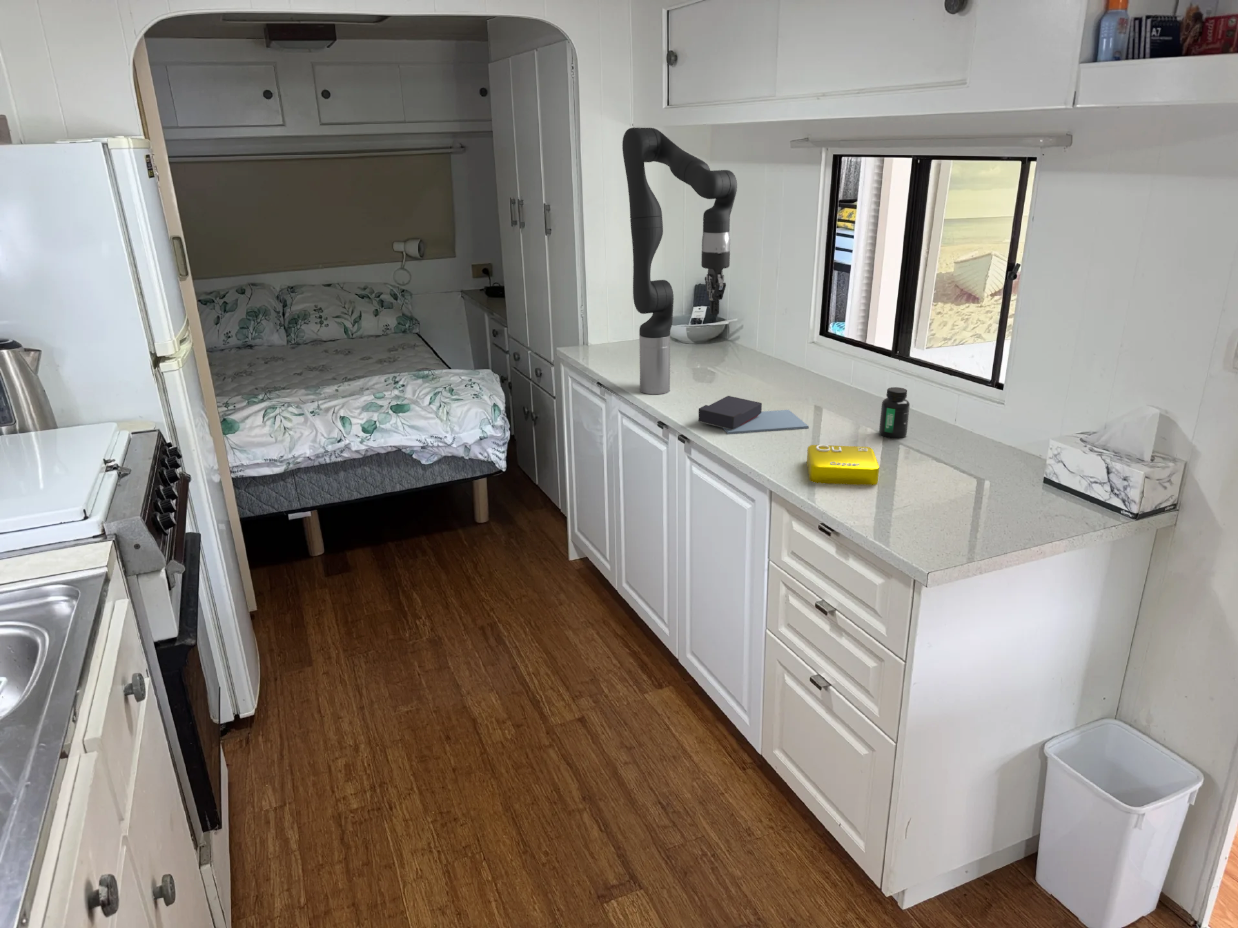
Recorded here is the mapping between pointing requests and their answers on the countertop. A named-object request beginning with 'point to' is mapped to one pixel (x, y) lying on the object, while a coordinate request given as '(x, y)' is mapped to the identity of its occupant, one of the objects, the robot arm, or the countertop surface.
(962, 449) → the countertop surface
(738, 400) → the dark grey boxy piece
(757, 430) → the mat
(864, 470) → the element tile
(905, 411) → the supplement bottle
